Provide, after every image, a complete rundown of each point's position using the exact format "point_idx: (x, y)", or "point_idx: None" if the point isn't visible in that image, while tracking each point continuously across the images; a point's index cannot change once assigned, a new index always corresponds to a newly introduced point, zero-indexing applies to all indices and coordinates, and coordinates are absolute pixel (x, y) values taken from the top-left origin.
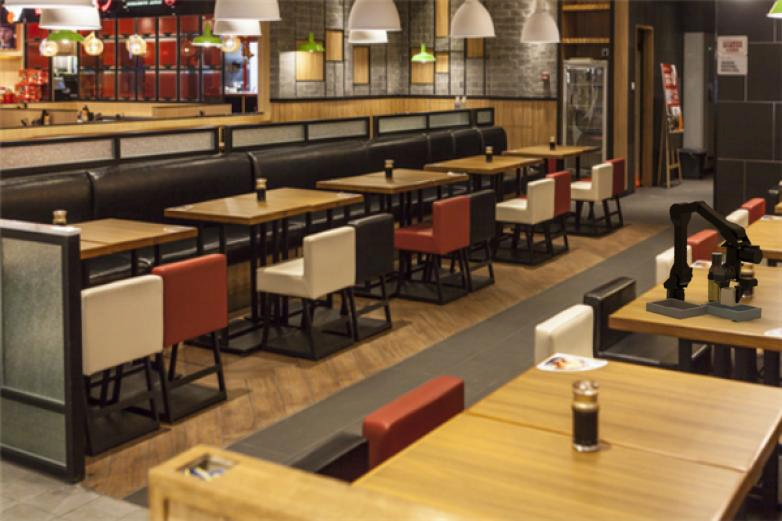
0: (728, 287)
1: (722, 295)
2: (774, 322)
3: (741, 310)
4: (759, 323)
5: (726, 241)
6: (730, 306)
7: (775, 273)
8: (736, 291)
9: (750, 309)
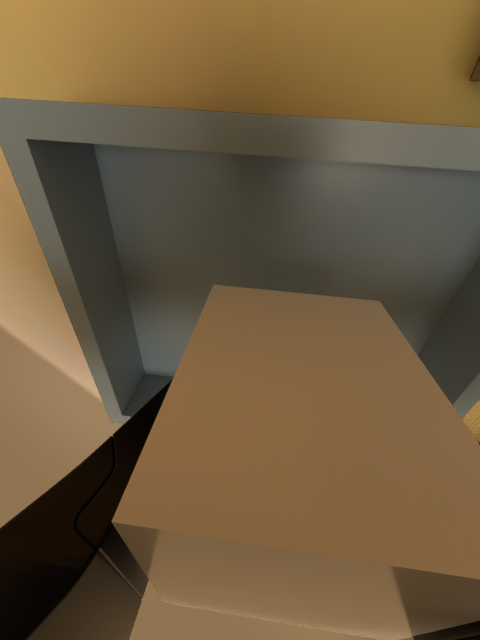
0: (399, 626)
1: (408, 386)
2: (21, 336)
3: None
4: (9, 252)
5: None
6: None
7: None
8: (92, 516)
9: (96, 350)
